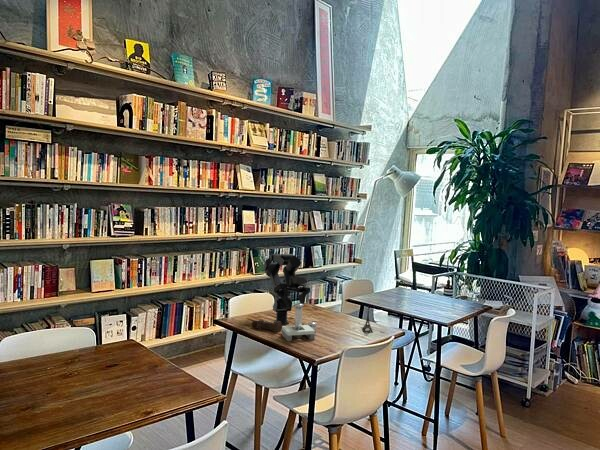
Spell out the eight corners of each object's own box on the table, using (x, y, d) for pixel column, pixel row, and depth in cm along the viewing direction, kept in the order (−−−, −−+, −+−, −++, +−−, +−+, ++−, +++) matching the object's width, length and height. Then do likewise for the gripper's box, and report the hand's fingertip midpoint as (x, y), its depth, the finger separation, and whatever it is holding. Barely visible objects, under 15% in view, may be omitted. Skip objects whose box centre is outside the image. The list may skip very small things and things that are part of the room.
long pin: (293, 335, 208) (295, 302, 207) (303, 335, 207) (304, 303, 206) (292, 337, 203) (293, 304, 203) (302, 338, 203) (303, 305, 202)
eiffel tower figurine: (386, 333, 217) (387, 307, 217) (373, 337, 211) (374, 310, 210) (363, 326, 228) (364, 301, 228) (350, 330, 222) (351, 303, 221)
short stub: (306, 331, 214) (307, 321, 214) (315, 331, 216) (315, 321, 215) (309, 334, 210) (309, 324, 210) (318, 333, 211) (318, 324, 211)
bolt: (253, 330, 219) (280, 334, 213) (249, 328, 215) (276, 331, 209) (256, 319, 221) (283, 322, 215) (252, 316, 217) (279, 319, 211)
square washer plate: (281, 334, 208) (281, 326, 208) (307, 332, 212) (307, 324, 212) (287, 341, 199) (287, 332, 198) (314, 339, 203) (314, 330, 202)
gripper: (284, 267, 207) (289, 297, 199) (314, 272, 218) (320, 301, 211) (271, 277, 214) (276, 307, 206) (301, 281, 225) (306, 310, 218)
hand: (295, 306), depth 210 cm, fingers open, 9 cm apart
